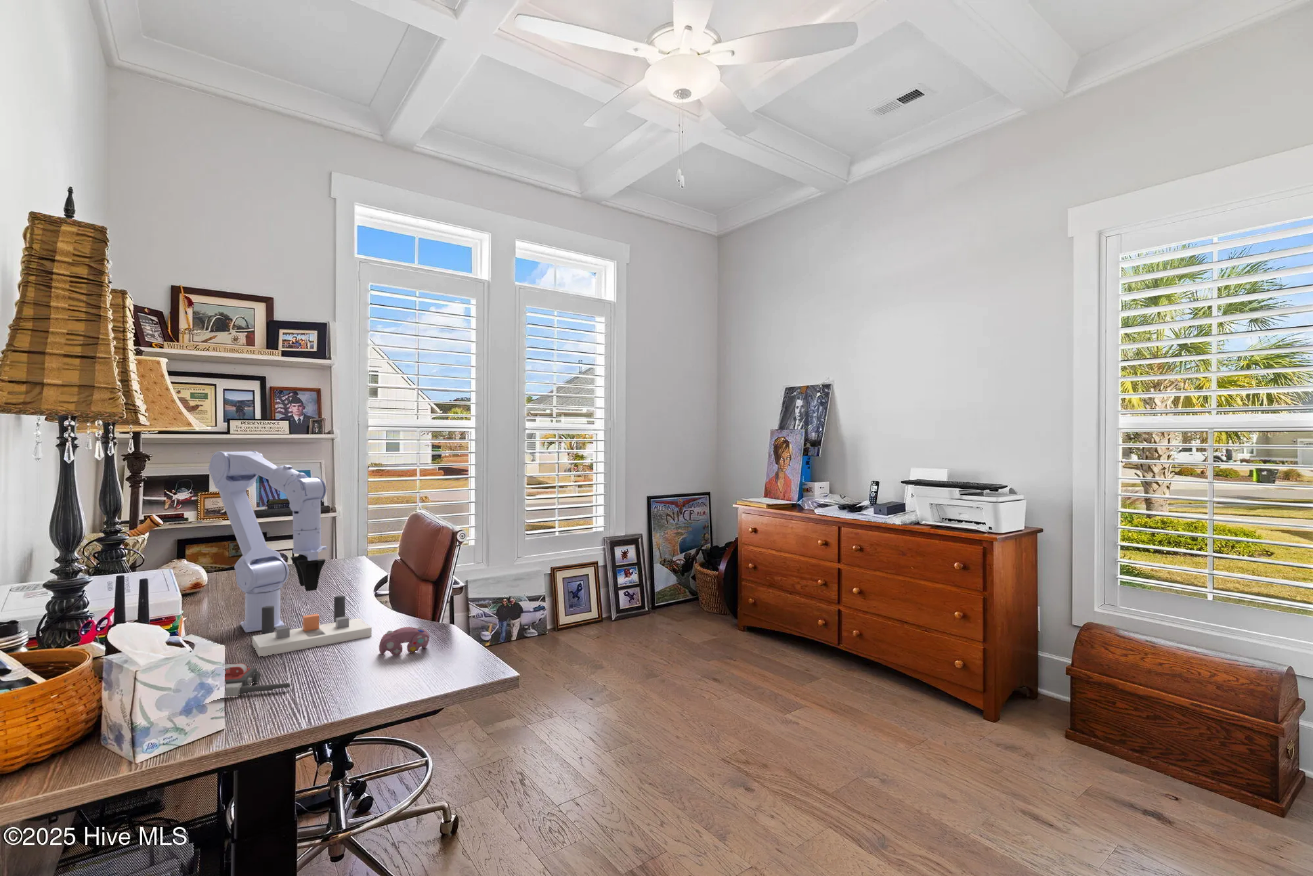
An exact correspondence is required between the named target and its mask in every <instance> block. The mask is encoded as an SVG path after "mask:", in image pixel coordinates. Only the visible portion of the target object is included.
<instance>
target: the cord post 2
mask: <svg viewBox="0 0 1313 876" xmlns="http://www.w3.org/2000/svg"><path fill="white" fill-rule="evenodd" d="M345 616H346V595H335V596H334V597H333V623H334V622H336V618H339V617H345Z"/></svg>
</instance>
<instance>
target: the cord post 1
mask: <svg viewBox="0 0 1313 876" xmlns="http://www.w3.org/2000/svg"><path fill="white" fill-rule="evenodd" d="M274 632H275V628H274V606H265V607H262V630H261V635H262V634H268V633H274Z"/></svg>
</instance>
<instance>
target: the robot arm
mask: <svg viewBox="0 0 1313 876" xmlns="http://www.w3.org/2000/svg"><path fill="white" fill-rule="evenodd" d="M208 471H209V473H210V476H211V479H212V482H213V484H214V487H215V489H217V490H218V492H219V496H220V499H221V502H222V504H223V507H224V510H225V512H226V514H227V517H228V520H229V523H230V526H231V528H232V531H233V533H234V536H235V538H236V542H237V544H238V546H239V549H240V553H241V554H242V555H241V557H240V558H239V559H238V560H237V561H236V562H235V565H234V566H233V567H234V571H235V582H236V585H237V587H238V588H239V590H241V592H242V593H244V594H245V596H244V600H245V601H244V613H245V614H244V621H241V622H240V626H241V628H242V629H243V631H244V632H245V633H251V632H258V631H262V607H265V606H274V629H276V628H278V627H284V626H285V623H284V622H283V620H282V619H281V588H283V587H284V583H286V582H287V580H288V578H289V574H290V571H289V565H288V564H287V562H286V561H285V560H284V559H283V558H282V555H281V553H280V552H279V551H277V550H275V549H273V548H271V547H268V546H267V545H268V544H267V543H266V540H265V537H264V534H263V532H262V529H261V526H260V524H259V522H258V520H257V519H258V518H257V517H256V513H255V511H254V509H253V507H252V506H253V505H252V504H251V501H250V499H249V496H248V493H247V490H248V489H249V488H251V487H253V486H254V484H255V482H256V480H257V478H258V476H260V477H262V478H264V479H267V480H268V483H269V485H270V486H271V487H272V488H274V489H275V490H277V491H279V492H281V493H283V494H285V495H286V498H287V500H288V501H289V509H290V511H292V539H293V540H292V542H293V543H292V545H293V547H292V554H295V556H291V557H290V560H291V561H292V563H293V565H294V568H295V570H296V573H297V579H298V582H299V586H300V587H304V590H305V591H306V592H310V591H311V592H312V591H316V590H318V585H319V580H320V575H321V572H322V569H323V566H324V565H325V563H326V559H325V558H319V553H321V552H322V551H326V550H328V546H327V545H322V520H321V519H322V516H321V515H322V514H321V512H322V511H321V510H322V509H321V507H322V506H321V505H322V504H321V501H322V500H323V499H324V498H325V496H326V495H327V494H326V493H327V486H326V483H325V481H324V480H323V479H322V478H320V476H313V477H309V476H307V475H306V473H304V472H299V471H298V470H295V469H293V466H292V465H290V464H284V465H280V466H277V465H275V464H274V463H272V462H271V461H269V460H268V459H267V458H264V455H263V453H261V452H258V451H257V450H250V451H249V450H248V451H221V450H220V451H219V450H217V451H216V452H214V454H213V455H212V456H211V457H210V461H209V465H208Z"/></svg>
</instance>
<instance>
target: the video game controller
mask: <svg viewBox="0 0 1313 876" xmlns="http://www.w3.org/2000/svg"><path fill="white" fill-rule="evenodd" d="M379 641H380V642H379V645H378V652H379V654H381V655H384V654H386V652H390V654H391V655H393V656H400V655H401V654H402V653H403V645H402V644H406V643H407V645H406V650H407V653H409V652H415V651H417V652H418V651H419V649H420V648H422V649H426V648H427V647H428V645H429V642H430V634H429V632H428V631H427V630H426V629H425V628H424V627H422V626H419V627H412V626H404V627H403V626H402V627H399V628H397V629H395V630H388V631H387V632H386V633H385V634H383V636H382V637H381V638H380V640H379ZM425 647H426V648H425ZM415 653H416V652H415Z"/></svg>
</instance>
